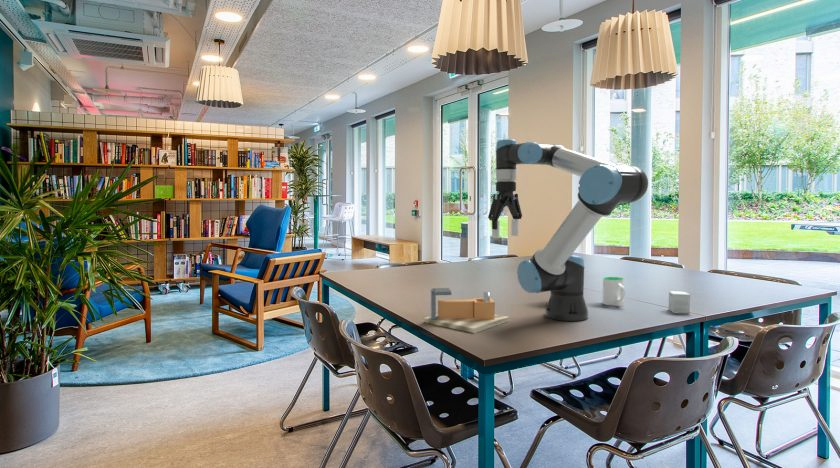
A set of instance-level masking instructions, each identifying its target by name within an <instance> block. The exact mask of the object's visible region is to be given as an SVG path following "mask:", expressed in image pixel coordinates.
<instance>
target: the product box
mask: <svg viewBox="0 0 840 468" xmlns="http://www.w3.org/2000/svg"><path fill="white" fill-rule="evenodd" d="M690 303H691V294H690V293H688V292H686V291H680V290H679V291H677V290H676V291H675V290H673V291H671V290H669V291H668V307H667V308H668V309H667V310H668V311H669V312H671V311H672V312H678V313H677V314H687V313H689V314H690ZM672 312H671V313H672Z"/></svg>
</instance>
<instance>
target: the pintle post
mask: <svg viewBox="0 0 840 468" xmlns="http://www.w3.org/2000/svg"><path fill="white" fill-rule="evenodd" d="M483 298H484V302H490V298H491V292H490V291H484V292H483Z"/></svg>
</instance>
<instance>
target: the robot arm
mask: <svg viewBox="0 0 840 468" xmlns="http://www.w3.org/2000/svg"><path fill="white" fill-rule="evenodd" d="M495 147H496V148H495V168H496V169H495V170H496V171H495V172H496V173H495V180H496V182H495V191H496V192H498V193H493V194H492V196H493V197H492V202H491V206H490V209H489V213H488V216H487V219H488V220H489V221H491V236H492V237H491V238H492V239H500V220H499V218H500V216H501V214H502V212H503V209H504V208H505V207H507V209H508V211H509V212H510V214H511V217H512V218H511V226H510V227H511V229H510V231H511V234H510V235H511V236H512V237H513V236H514V237H518V236H519V225H520V223H519V220H521V219H522V218H523V213H522V210H521V206H520V202H519V194H518V193H514V192H516V190H517V182H516V180H517V165H542V166H544V165H545V166H550V167H552V168H555V169H558V170H561V171H564V172H567V173H570V174H572V175H575V176H578V177H579V178H580V179H579V181H578V185H579V186H577V187H578V189H577V190H578V192H577V199H578V201H576V204H574V206H573V208H572V209H571V210H570V211H569V213H568V215H567V216H566V217H565V218H564V220H563V222H562V223H561V225H560V226H559V227H558V229H557V230H556V231H555V233H553V235H552V236H551V238H550V239H549V241H548V242H547V244H545V245H544V248H539V249H537V250H536V251H535V252H534V254H533V255H532V257H530V259H524V260H522V261H520V262H519V264H518V266H517V270H516V274H517V280H518V284H519V285H520V287H521V289H523V290H524V291H525V292H526V293H530V294H539V293H544V292H550V295H549V299H548V301H547V305H546V307H545V312H544V313H545V317H547V318H549V319H552V320H556V321H563V322H564V321H565V322H580V321H585V320H588V318H589V311H588V306H587V304H586V300H585V297H584V288H585V287H584V284H585V283H584V281H585V259H584V257H582V256H580V255H574V254H573V253H574V252H575V251H576V250H577V248H579V246H580V245H581V244H582V242H583V241H584V240H585V239H586V237H587V236H588V235H589V233H590V232H591V231H592V230H593V229H594V227H595V226H596V225H597V223H598V222H599V221H600V220H601V218H602V217H607V216H609V215H611V214H612V212H614V210H615V209H616V208H617V206H618V205H619V204H630V203H635V202H637V201H639V200H641V199H642V198H643V197H644V195H646V193H647V191H648V187H649V180H648V175H647V174H646V173H645V171H644V170H643V169H641V168H640V167H638V166H635V165H629V164H625V163H621V162H619V163H616V164H614V163H611V162H608V161H605V160H603V159H599V158H596V157H592V156H590V155H586V154H584V153H580V152H577V151H575V150H571V149H568V148H565V146H563V145H560V144H546V143H545V144H544V143H538V142H535V141H532V142H531V141H527V142H522V143H520V142H519V143H517V140H515V139H511V138H510V139H509V138H507V139H498V140H497V141H496V146H495Z"/></svg>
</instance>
